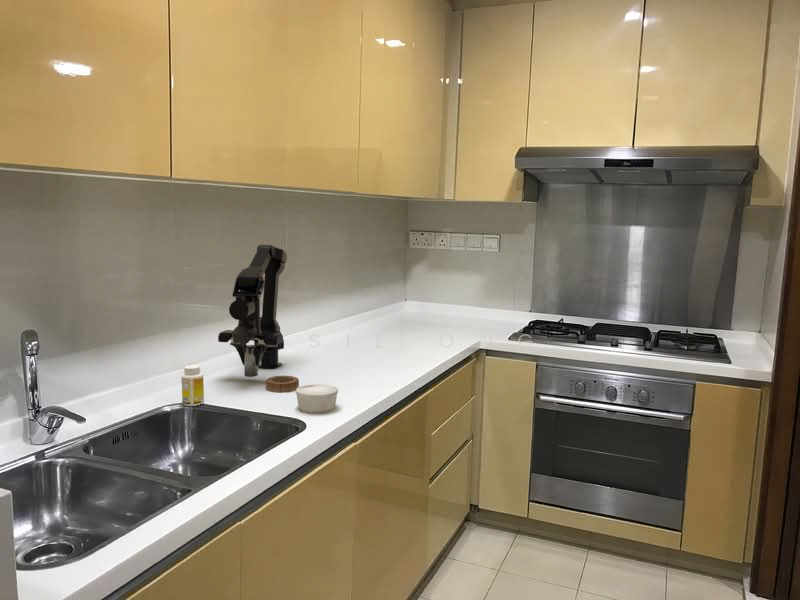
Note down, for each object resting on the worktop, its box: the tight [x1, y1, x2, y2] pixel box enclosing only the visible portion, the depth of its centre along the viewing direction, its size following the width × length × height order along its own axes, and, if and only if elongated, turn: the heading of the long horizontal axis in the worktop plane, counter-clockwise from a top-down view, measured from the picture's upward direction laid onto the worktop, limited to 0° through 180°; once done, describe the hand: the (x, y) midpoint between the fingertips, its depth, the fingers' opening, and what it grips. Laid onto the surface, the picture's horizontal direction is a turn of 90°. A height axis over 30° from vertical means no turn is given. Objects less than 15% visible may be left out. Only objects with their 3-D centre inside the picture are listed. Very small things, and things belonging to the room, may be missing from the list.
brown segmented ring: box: [265, 375, 300, 393], centre depth 193 cm, size 9×9×2 cm
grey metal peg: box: [243, 344, 259, 378], centre depth 200 cm, size 4×4×9 cm
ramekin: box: [295, 383, 339, 414], centre depth 175 cm, size 11×11×5 cm
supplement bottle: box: [181, 364, 205, 407], centre depth 176 cm, size 6×6×10 cm
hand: (251, 365), depth 200 cm, fingers closed on grey metal peg, 4 cm apart
